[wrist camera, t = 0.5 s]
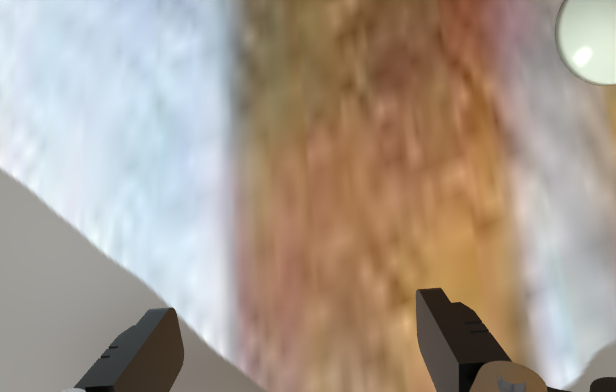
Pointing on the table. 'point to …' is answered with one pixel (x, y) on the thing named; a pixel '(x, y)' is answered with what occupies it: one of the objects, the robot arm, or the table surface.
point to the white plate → (588, 39)
